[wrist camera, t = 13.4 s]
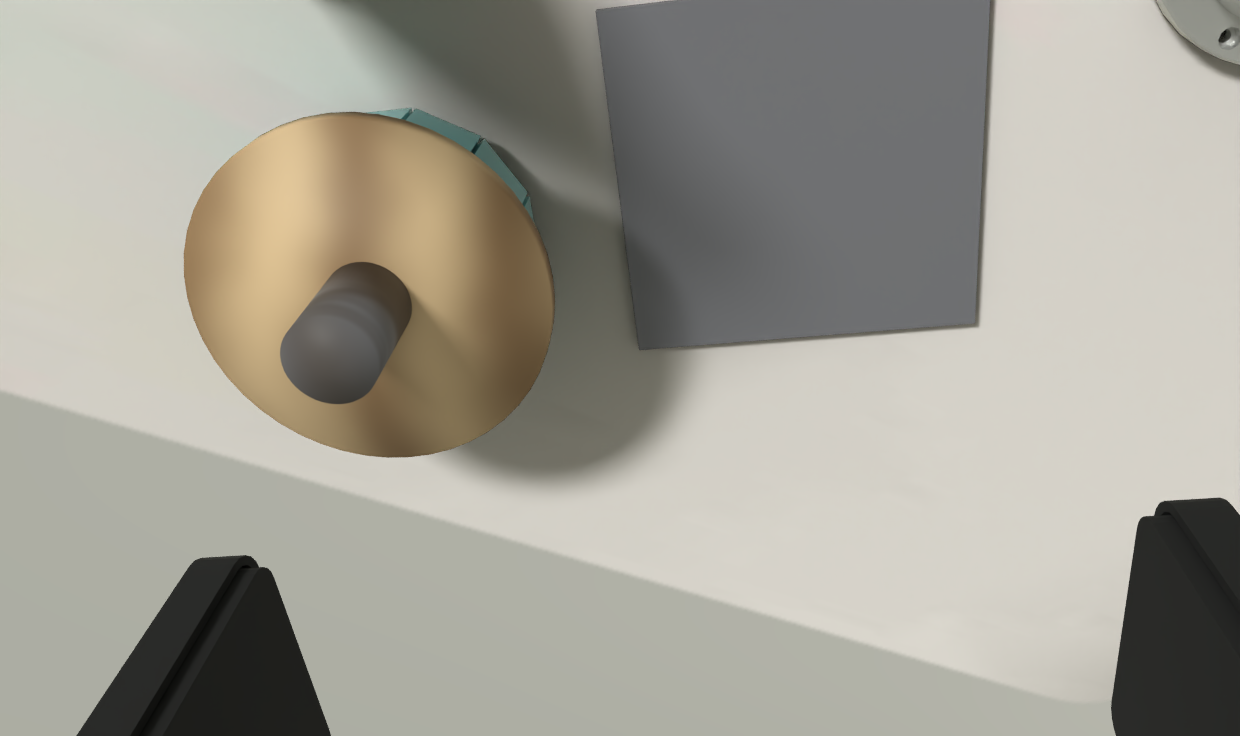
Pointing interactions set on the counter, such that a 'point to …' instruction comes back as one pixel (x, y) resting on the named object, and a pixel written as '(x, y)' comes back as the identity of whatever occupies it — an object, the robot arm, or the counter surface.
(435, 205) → the lid
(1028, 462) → the counter surface
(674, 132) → the mat
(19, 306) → the counter surface
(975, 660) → the counter surface
